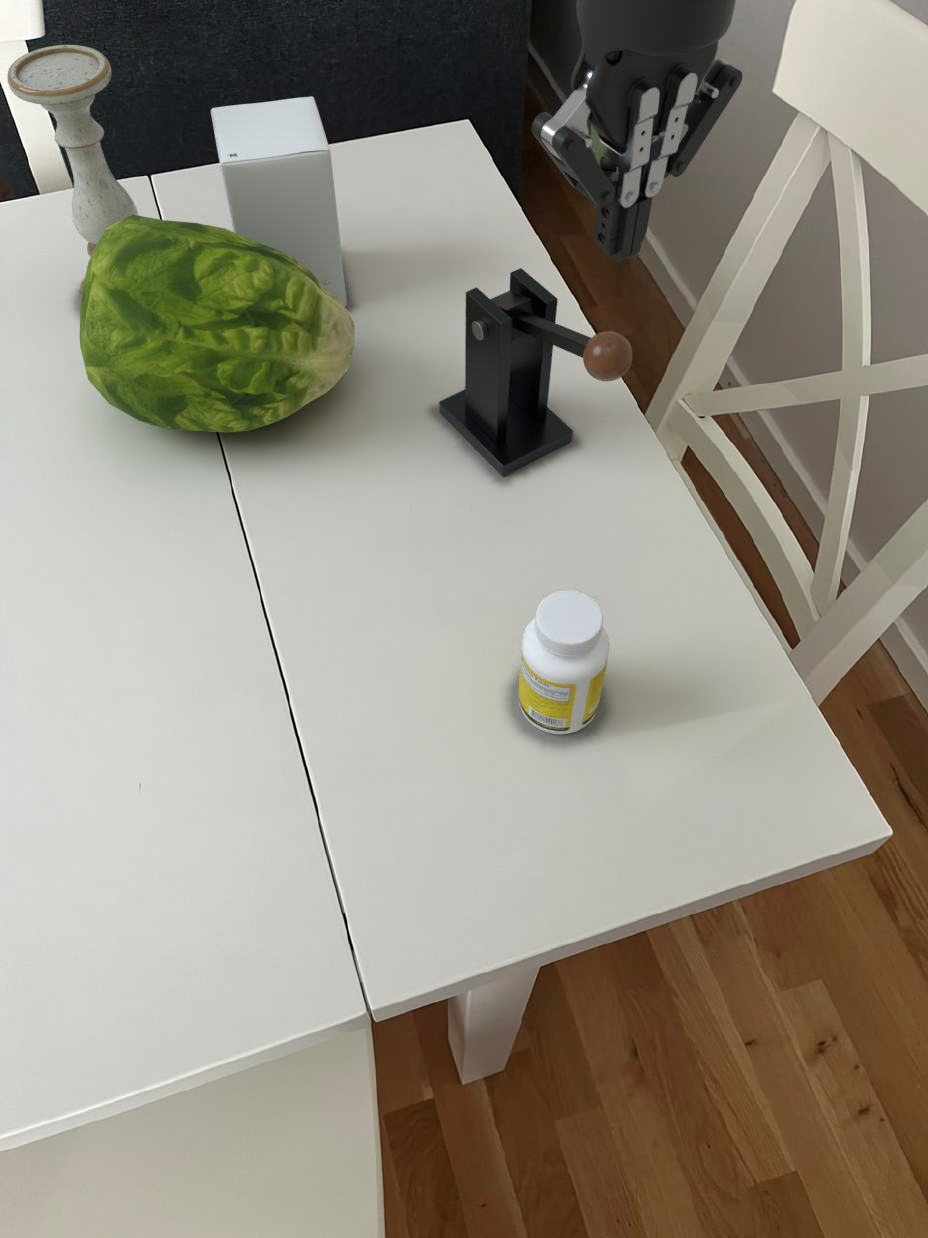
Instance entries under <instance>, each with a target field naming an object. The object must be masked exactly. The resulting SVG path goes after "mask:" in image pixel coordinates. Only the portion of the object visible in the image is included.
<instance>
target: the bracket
mask: <svg viewBox="0 0 928 1238" xmlns="http://www.w3.org/2000/svg"><path fill="white" fill-rule="evenodd" d="M509 274H510V276H509V291H511V292H514V293H516V294H519V295H521V296H524V297H526V298H529V299H531V300H532V308H533V314H534V315H536V316H539V317H541V318H543V319H546V320H548V321H551V322H553V323H556V320H557V311H558V301H559V299H558V297H557V296H555V295H554V294H553V293H552V292H551V291H549V290H548V289H547V288H546V287H545V286H544V285H542V284H541V283H540V282H539V281H537V280H536V279H535V278H534V277H532V276H531V275H530V274H529V273H528V272H527V271H525V270H524V269H523V268H522V267H520V268H517V269H516V270H513V271H511V272H510V273H509ZM490 299H491V298H490V297H489V296H487V295H486V294H485V293H484V292H483V291H481V290H480V289H479V288H478V287H476V286H475V287H474V288H472V289H469V290H467V291H465V336H464V337H465V349H464V350H465V352H464V353H465V354H464V355H465V356H464V357H465V358H464V360H465V361H464V363H465V364H464V365H465V367H464V370H465V371H464V389H463V390H460V391H458V392H456V393H454V394H452V395H450V396H447V397H445V398H443V399H441V400H439V402H438V409H439V413H440V414H441V415H442V416H443V418H445V419H446V421H448V423H449V424H450V425H451V426H452V427H453V428H454V429H456V431H457V432H458V433H459V434H460V435H461V436H462V437H463V438H464V439H465V440H466V441H467V442H468V443H469V444H470V445H471V446H472V447H473V448H474V449H475V450H476V451H477V452H478V453H479V454H480V455H481V456H482V457H483V459H485V460H486V462H488V463H489V464H490V466H492V467H493V469H495V470H496V472H497V473H498V474H499V475H500V476H501V477H505V476H508V475H509V474H511V473H513V472H515V471H517V470H519V469H521V468H523V467H525V466H527V465H529V464H531V463H533V462H535V461H537V460H538V459H540V458H542V457H544V456H546V455H548V454H550V453H552V452H554V451H556V450H557V449H560V448H562V447H563V446H565V445H568V444H570V443H572V441H573V437H574V436H573V435H574V430H573V429H572V428H571V427H570V426H569V425H568V424H566V422H564V420H562V419H561V418H560V417H559V416H558V415H557V414H556V413H555V412H554V411H553V410H551V408H549V406H548V402H549V393H550V391H549V390H550V381H551V373H552V362H553V352H554V345H552V344H549V343H547V342H545V341H542V340H540V339H538V338H535V337H533V336H531V335H528V334H527V335H525V336H523V337H520V338H518V339H516V340H514V341H511V339H512V321H513V320H512V318H511V317H510V316H508V315H507V314H506V313H505V312H504V311H503V310H502V309H501V308H499V307H498V306H497V305H496V304H495V303H494V302H493V301H492V300H490Z"/></svg>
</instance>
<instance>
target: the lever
mask: <svg viewBox="0 0 928 1238" xmlns="http://www.w3.org/2000/svg"><path fill="white" fill-rule="evenodd" d="M489 299H490V300H492V301H493V302H494V303H495V304H496V305H497V306H498V307H499V308H501V309H502V310H503V311H504V312H505V313H506V314H507V315H508V316H510V317H511V318H512V320H513V321H512V339H511V341H514V340H516V339H518V338H520V337H523V336H525V335H527V334H528V335H531V336H533V337H535V338H538V339H540V340H542V341H545V342H547V343H549V344H552V345H553V347H556V348H558V349H561V350H564V351H566V352H568V353H570V354H573V355H575V356H577V357H580V358H581V359H582V360H583V366H584V368H585V371H587V373H588V375H589V376H591V377H592V378H594V379H595V380H597V381H600V382H605V383H607V382H613V381H617V380H619V379H621V378H622V377H623V376H625V375H626V373H627V372H628V371H629V369H630V368H631V365H632V362H633V348H632V346H631V343H630V342H629V340H628V339H627V338H626V337H625V336H624V335H623V334H621V333H620V332H617V331H613V330H604V331H600V332H598V333H596V334H595V335H593V336H592V337H591V336H588V335H586V334H583V333H580V332H578V331H576V330H573V329H571V328H568V327H566V326H564V325H561V324H558V323H556V322H555V323H553V322H551V321H548V320H546V319H543V318H541V317H539V316H536V315H534V314H533V308H532V300H531V299H529V298H526V297H524V296H521V295H519V294H516V293H514V292H511V291H510V290H507V291H505V292H503V293H500V294H498V295H496V296H494V297H492V298H489Z"/></svg>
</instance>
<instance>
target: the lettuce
mask: <svg viewBox="0 0 928 1238" xmlns="http://www.w3.org/2000/svg"><path fill="white" fill-rule="evenodd" d="M84 279H85V281H84V286H83V292H82V297H81V300H80V310H79V311H80V313H79V314H80V315H79V347H80V351H81V356H82V359H83V360H82V361H83V365H84V368H85V373H86V377H87V380H88V381H89V382H90V383H91V385H92V386H93V388H95V389H96V390H97V392H98V393H99V394H100V395H101V396H102V397H103V398H104V400H105V401H106V402H107V403H108V404H109V405H111V406H112V407H114V408H116V409H118V410H119V411H121V412H123V413H125V414H126V415H128V416H130V417H132V418H133V419H135V420H137V421H139V422H142V423H146V424H149V425H153V426H156V427H159V428H163V429H166V430H177V431H192V432H193V431H194V432H195V431H196V432H211V433H227V434H228V433H237V432H248V431H252V430H255V429H259V428H262V427H266V426H269V425H272V424H274V423H276V422H279V421H280V420H284V419H285V418H288V417H290V416H291V415H293V414H294V413H296V412H297V411H299V410H300V409H302V408H303V407H304V406H306V405H307V404H309V403H311V402H313V401H315V400H316V399H318V398H320V397H321V396H324V395H325V394H327V393H328V392H329V391H330V390H331V389H332V388H334V387H335V386H336V385H337V384H338V383H339V382H340V380H341V379H342V378H343V377H344V376H345V374H346V373H347V371H348V370H349V367H350V364H351V360H352V355H353V352H354V344H355V337H356V336H355V335H356V324H355V321H354V319H353V318H352V316H351V314H350V313H349V311H348V310H347V308H346V306H345V307H344V305H343V304H342V303H341V302H340V301H339V300H338V299H337V298H336V297H335V296H333V295H332V294H331V293H330V292H329V291H328V290H326V289H325V288H324V287H323V285H322V284H321V283H320V282H319V281H318V280H317V278H316V277H315V276H314V275H313V274H312V272H311V271H310V270H308V269H307V268H306V267H304V266H303V265H302V264H300V263H299V262H298V261H296V260H295V259H294V258H292V257H290V256H288V255H286V254H284V253H282V252H280V251H278V250H276V249H274V248H271V247H268V246H266V245H263V244H260V243H257V242H255V241H252V240H250V239H248V238H245V237H243V236H241V235H239V234H236V233H234V232H233V230H230V229H227V228H224V227H220V226H214V225H208V224H203V223H198V222H188V221H177V220H166V219H160V218H153V217H148V216H143V215H139V214H138V215H131V216H129V217H127V218H125V219H123V220H121V221H119V222H117V223H114V224H112V225H110V226H108V227H106V228H105V230H104V232H103V234H102V236H101V238H100V240H99V242H98V244H97V246H96V247H95V249H94V251H93V253H92V255H91V257H90V256H89V260H88V262H87V266H86V271H85V276H84Z"/></svg>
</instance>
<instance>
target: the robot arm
mask: <svg viewBox="0 0 928 1238" xmlns="http://www.w3.org/2000/svg"><path fill="white" fill-rule="evenodd" d="M736 1H737V0H576V5H575V11H576V12H575V13H576V18H577V22H578V26H579V30H580V35H581V42H582V44H581V50H580V54H579V57H578V59H577V62H576V64H575V65H574V68H573V71H572V75H571V79H570V84H571V91H572V93H571V94H570V95H569V96H568V98H566V100H565V101H564V102H563V104H562V105H561V106H560V108H559V109H558V110H557V111H556V113H555V114H554V115H553V116H552V115H551V114H550V113H548V112H546V111H543V112H540V113H538V114H537V115H536V117H535V118H534V119H533V121H532V124H531V133H532V135H533V136H534V137H535V139H536V140H537V142H538V143H539V145H540V146H541V147H542V148H543V150H544V151H545V152H546V153H547V155H548V157H550V159H551V160H552V162H553V163H554V164H555V165H556V167H557V169H558V170H559V172H560V173H562V175H563V176H564V178H565V179H566V181H568V183H569V185H570V186H571V187H572V188H574V189H575V190H577V191H578V192H579V193H581V194H582V195H583V196H584V197H586V198H587V199H589V200H590V201H591V202H593V203H594V204H595V205H596V212H595V219H594V221H595V222H594V230H593V236H592V237H593V242H594V245H596V247H598V249H599V250H600V251H601V252H602V253H603V254H604V255H606V256H607V257H608V258H610V259H611V260H612V261H614V262H615V263H620V262H622V261H624V260H626V259H629V258H631V257H633V256H635V255H637V254H639V253H640V252H641V249H642V243H643V242H644V239H645V238H646V236H647V233H648V227H649V221H650V215H651V209H652V203H653V198H654V197H656V195H658V194H659V192H660V191H661V189H662V187H663V183H664V180H665V179H666V178H667V177H669V176H670V175H671V176H672V177H674V178H678V177H680V176H682V175H683V174H684V173H685V172H686V170H687V168H688V167H689V165H690V163H691V162H692V161H693V159H694V158H695V156H696V154H698V153H697V152H698V151H699V149H700V148H701V146H702V144H704V142H705V140H706V139H707V137H708V136H709V135H710V133H711V131H712V129H713V128H714V126H715V125H716V123H717V121H719V118H720V117H721V115H722V114H723V113H724V111H725V109H726V108H727V106H728V104H729V103H730V101H731V100H732V99H733V97H734V95H735V93H736V92H737V90H738V89H739V87H740V86H741V84H742V81H743V75H744V74H743V71H741V70H740V69H738V68H736V67H735V66H733V64H731V63H729V62H728V61H726V60H725V59H723V58H721V57H719V56H718V50H719V41H720V40H721V39H722V38H723V37H724V36H725V34H726V33H727V32H728V30H729V29H730V27H731V25H732V22H733V21H732V20H733V16H734V11H735V6H736ZM588 121H589V123H590V128H589V125H588ZM684 125H686V126H687V130H686V132H685V134H684V135H683V137H682V133H683V130H684V129H683V128H684ZM681 137H682V139H681ZM589 148H592V149H593V151H594V154H595V157H594V155H593V154H592V153H591V151H590V150H589Z"/></svg>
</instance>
